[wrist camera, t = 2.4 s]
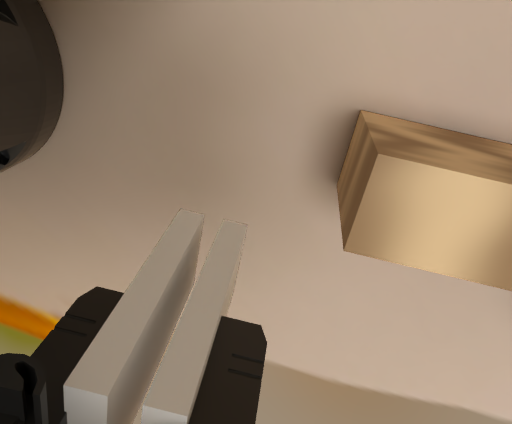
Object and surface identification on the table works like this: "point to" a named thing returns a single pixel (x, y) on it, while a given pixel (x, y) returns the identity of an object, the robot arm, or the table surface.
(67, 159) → the table surface
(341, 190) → the plug
